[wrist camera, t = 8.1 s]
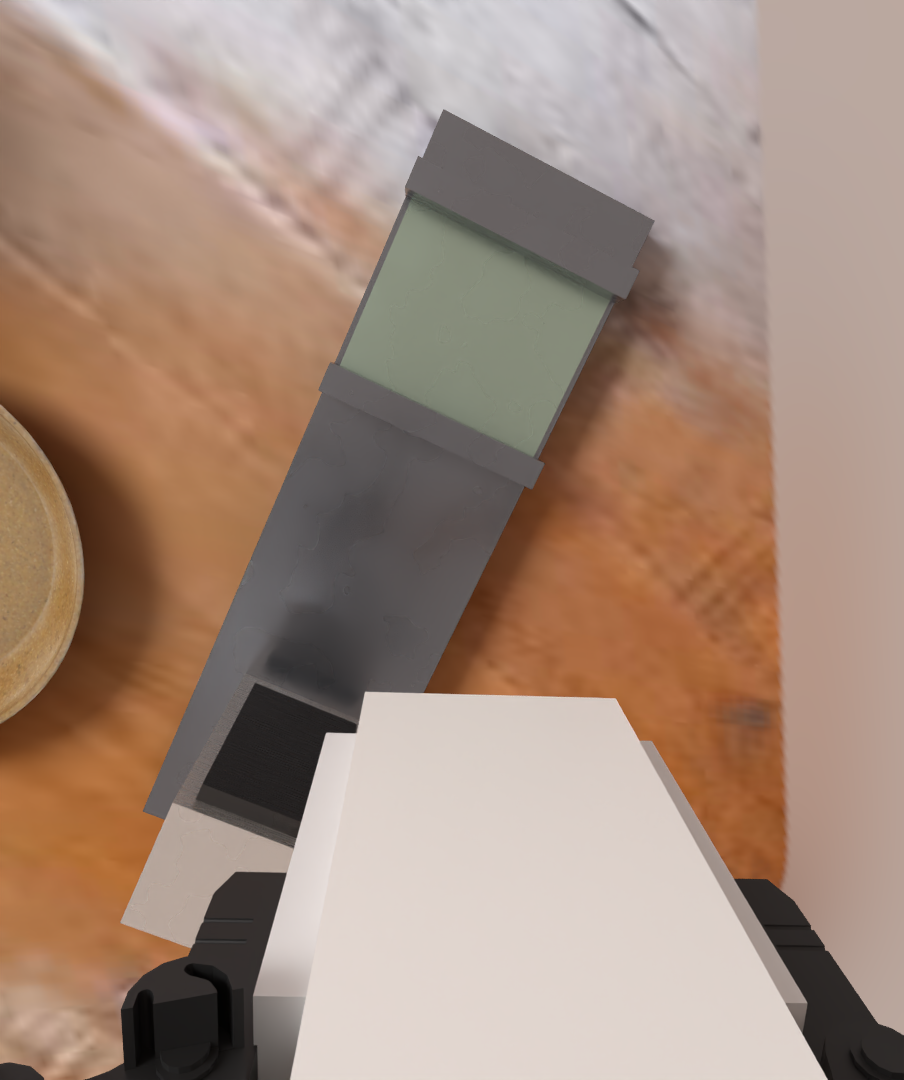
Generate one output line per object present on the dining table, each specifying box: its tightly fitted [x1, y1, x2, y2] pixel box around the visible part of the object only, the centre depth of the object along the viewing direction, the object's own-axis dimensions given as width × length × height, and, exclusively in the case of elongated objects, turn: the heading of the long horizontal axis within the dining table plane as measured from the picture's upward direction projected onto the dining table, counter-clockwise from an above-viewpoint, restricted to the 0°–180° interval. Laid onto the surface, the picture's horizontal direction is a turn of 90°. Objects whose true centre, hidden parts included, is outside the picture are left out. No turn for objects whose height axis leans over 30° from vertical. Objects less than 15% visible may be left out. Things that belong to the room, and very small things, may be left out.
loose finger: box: [290, 692, 828, 1080], centre depth 11 cm, size 4×5×9 cm
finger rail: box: [120, 109, 654, 948], centre depth 25 cm, size 28×8×10 cm, turn 155°
